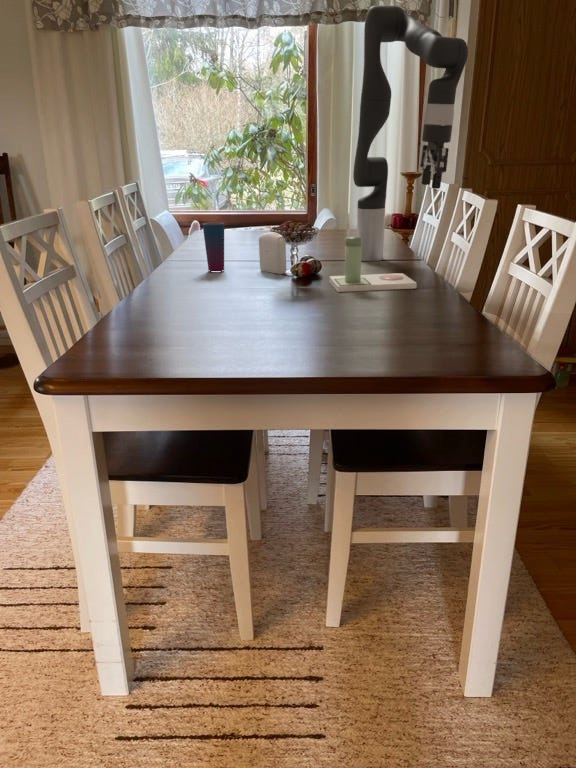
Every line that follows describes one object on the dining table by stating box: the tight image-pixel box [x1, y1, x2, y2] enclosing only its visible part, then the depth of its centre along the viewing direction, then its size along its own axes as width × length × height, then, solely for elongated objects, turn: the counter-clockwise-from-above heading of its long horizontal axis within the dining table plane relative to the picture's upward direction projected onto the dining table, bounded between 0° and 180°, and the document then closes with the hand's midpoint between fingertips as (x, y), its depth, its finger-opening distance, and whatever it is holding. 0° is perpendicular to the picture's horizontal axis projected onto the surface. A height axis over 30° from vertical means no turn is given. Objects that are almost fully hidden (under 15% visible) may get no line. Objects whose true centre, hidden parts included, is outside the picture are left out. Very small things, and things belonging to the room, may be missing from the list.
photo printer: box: [258, 231, 287, 275], centre depth 191 cm, size 10×4×12 cm, turn 39°
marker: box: [344, 235, 362, 283], centre depth 167 cm, size 4×4×12 cm
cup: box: [202, 221, 225, 271], centre depth 193 cm, size 7×7×15 cm
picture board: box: [328, 272, 418, 293], centre depth 172 cm, size 14×22×2 cm, turn 96°
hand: (430, 186), depth 168 cm, fingers open, 8 cm apart
